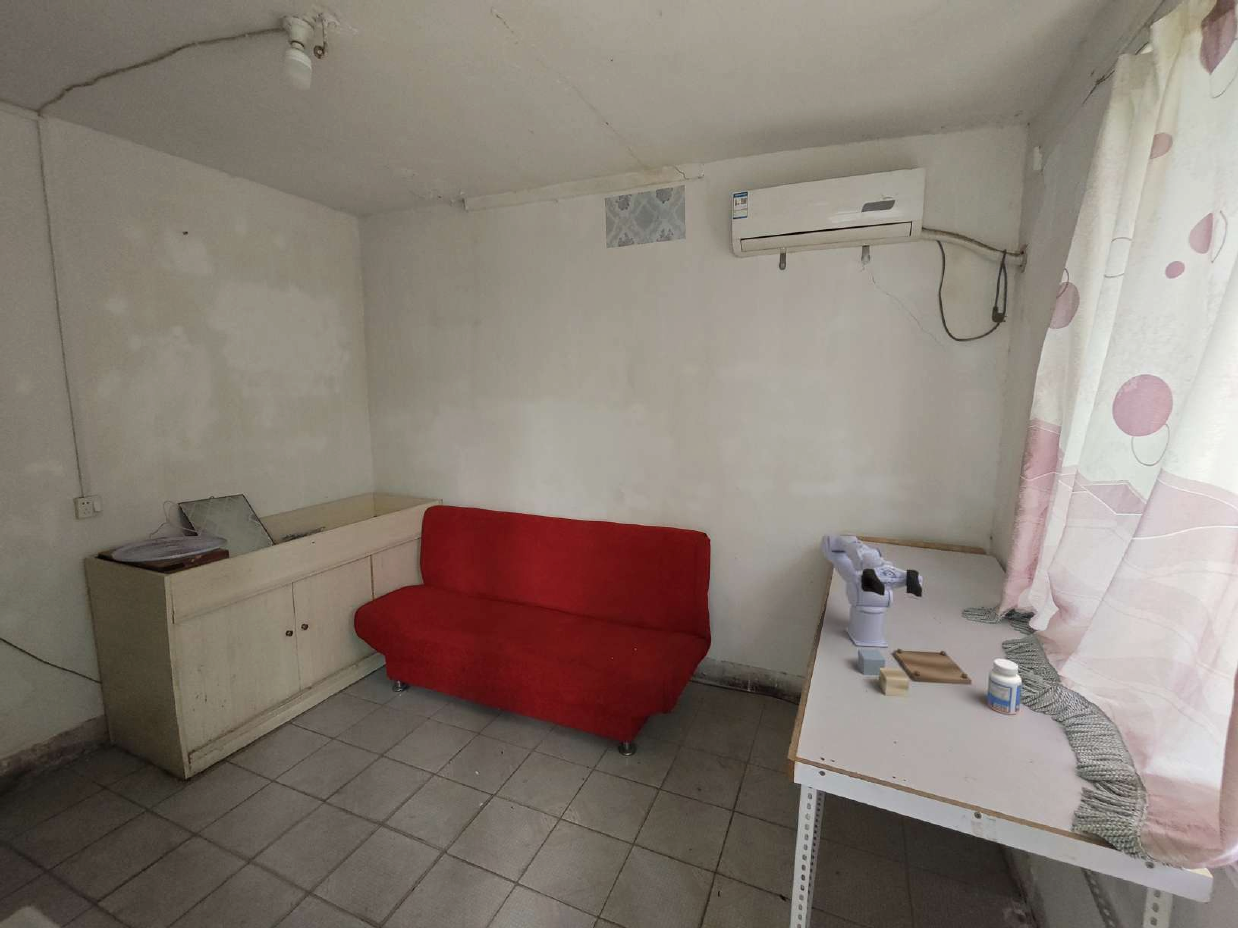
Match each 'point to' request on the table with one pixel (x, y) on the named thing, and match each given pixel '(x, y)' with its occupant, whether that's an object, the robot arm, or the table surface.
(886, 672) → the birch block
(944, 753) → the table surface
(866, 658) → the slate block
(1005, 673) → the pill bottle
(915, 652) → the base plate
